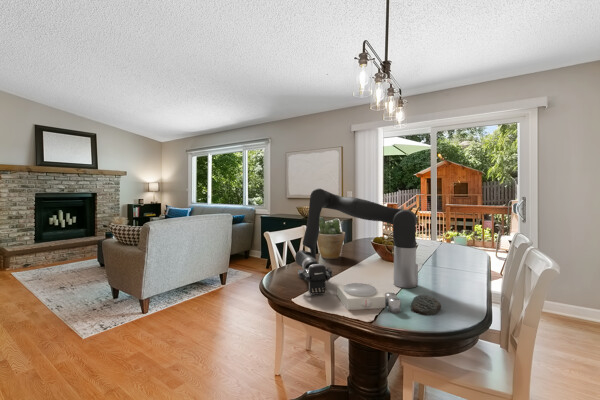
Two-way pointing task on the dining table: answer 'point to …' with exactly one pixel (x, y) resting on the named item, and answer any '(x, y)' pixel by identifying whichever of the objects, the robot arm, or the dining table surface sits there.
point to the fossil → (425, 305)
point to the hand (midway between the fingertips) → (318, 278)
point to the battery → (317, 278)
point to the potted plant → (330, 238)
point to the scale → (360, 296)
